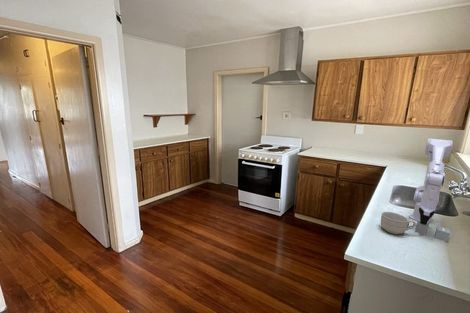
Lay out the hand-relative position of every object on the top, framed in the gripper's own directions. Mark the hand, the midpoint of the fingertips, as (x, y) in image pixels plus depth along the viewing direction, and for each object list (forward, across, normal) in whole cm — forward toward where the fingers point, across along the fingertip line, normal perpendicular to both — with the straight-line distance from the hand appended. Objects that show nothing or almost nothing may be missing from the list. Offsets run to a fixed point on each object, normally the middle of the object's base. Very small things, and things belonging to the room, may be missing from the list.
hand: (423, 223), depth 110 cm
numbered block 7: (+4, 0, -7) cm, 9 cm away
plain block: (+4, 0, 0) cm, 4 cm away
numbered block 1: (+4, 0, +7) cm, 9 cm away
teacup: (+5, +9, -10) cm, 14 cm away
